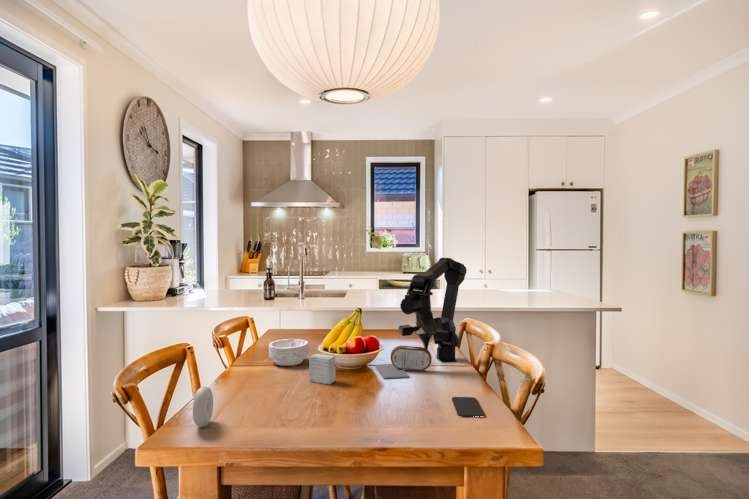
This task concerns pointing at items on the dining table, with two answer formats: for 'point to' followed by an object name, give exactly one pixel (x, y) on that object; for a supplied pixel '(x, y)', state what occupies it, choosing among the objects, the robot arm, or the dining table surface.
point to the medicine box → (322, 368)
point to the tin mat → (390, 371)
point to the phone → (467, 406)
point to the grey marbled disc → (203, 406)
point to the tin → (411, 358)
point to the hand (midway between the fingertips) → (426, 350)
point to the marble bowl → (288, 351)
